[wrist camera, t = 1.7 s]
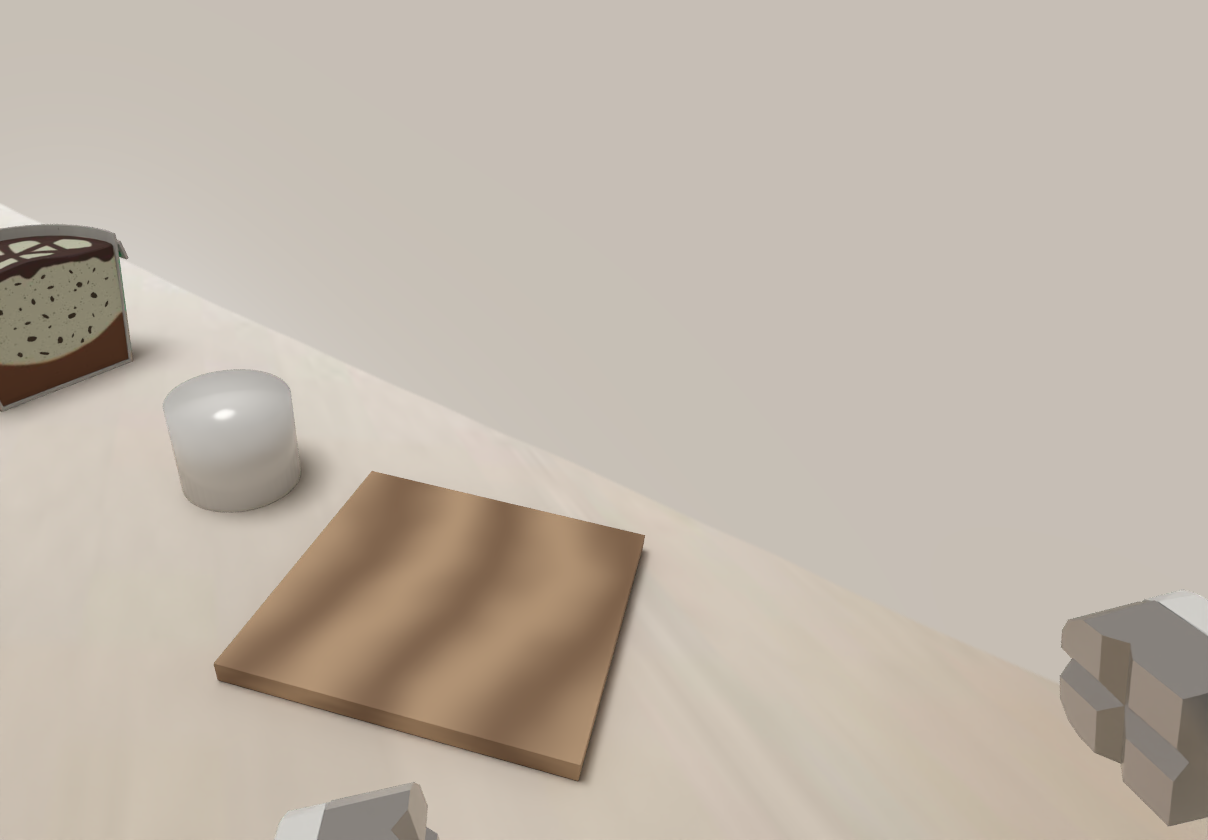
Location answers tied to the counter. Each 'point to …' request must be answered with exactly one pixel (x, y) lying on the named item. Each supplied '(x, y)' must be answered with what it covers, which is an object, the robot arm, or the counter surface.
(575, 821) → the counter surface
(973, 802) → the counter surface
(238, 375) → the white dome-topped cylinder
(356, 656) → the walnut board
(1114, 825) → the counter surface
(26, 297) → the food container
